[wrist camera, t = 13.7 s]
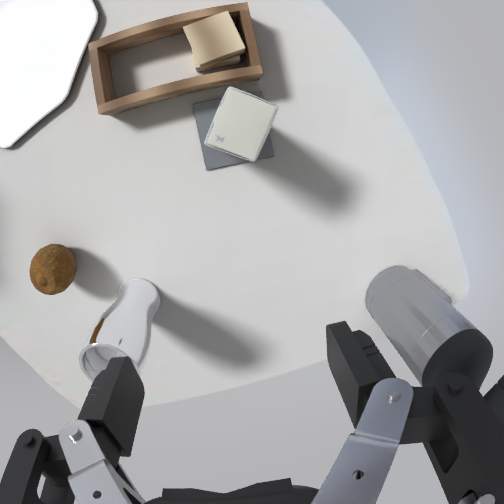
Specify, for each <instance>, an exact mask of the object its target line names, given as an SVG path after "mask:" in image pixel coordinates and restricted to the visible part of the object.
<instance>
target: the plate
mask: <svg viewBox="0 0 504 504" xmlns="http://www.w3.org/2000/svg"><path fill="white" fill-rule="evenodd" d="M98 14H99V13H98V11H97V9H96V7H95V4H94V2H93V0H0V147H1V148H7V147H11V146H12V145H13V144H15V143H16V142H17V141H18V140H19V139H20V138H21V137H22V136H23V135H24V134H26V133H27V132H28V131H29V130H30V129H31V128H32V127H34V126H35V125H36V124H37V123H38V122H39V121H41V120H42V119H43V118H44V117H46V116H47V115H48V114H49V113H50V112H52V111H53V110H54V109H56V108H57V107H58V106H59V105H61V104H62V103H63V102H64V101H65V99H66V98H67V96H68V95H69V93H70V90H71V87H72V84H73V81H74V79H75V76H76V73H77V70H78V68H79V65H80V62H81V60H82V57H83V55H84V52H85V50H86V47H87V45H88V43H89V40H90V38H91V36H92V33H93V31H94V29H95V27H96V25H97V23H98Z"/></svg>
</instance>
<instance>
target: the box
mask: <svg viewBox="0 0 504 504" xmlns="http://www.w3.org/2000/svg"><path fill="white" fill-rule="evenodd" d="M277 111H278V106H277V105H275V104H272V103H270V102H268V101H266V100H264V99H262V98H259V97H257V96H255V95H252V94H250V93H247V92H245V91H242V90H239V89H237V88H234V87H231V86H230V87H228V88H227V90H226V92H225V94H224V96H223V98H222V100H221V102H220V105H219V107H218V109H217V111H216V114H215V116H214V118H213V121H212V123H211V126H210V128H209V131H208V133H207V136H206V139H205V141H204V144H205V145H207V146H209V147H212V148H215V149H217V150H220V151H223V152H226V153H228V154H231V155H234V156H237V157H240V158H242V159H245V160H248V161H251V162H255V161H256V159H257V157H258V155H259V153H260V151H261V149H262V147H263V144H264V142H265V140H266V138H267V135H268V133H269V131H270V128H271V126H272V123H273V121H274V118H275V116H276V113H277Z"/></svg>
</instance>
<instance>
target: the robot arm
mask: <svg viewBox="0 0 504 504" xmlns="http://www.w3.org/2000/svg"><path fill="white" fill-rule="evenodd" d="M366 307H367V310H368V311H369V313H370V314H371V316H372V318H373V319H374V320H375V321H376V322H377V324H378V325H379V327H380V328H381V329H382V331H383V332H384V333H385V335H386V336H387V338H388V339H389V340H390V342H391V343H392V344H393V346H394V347H395V349H396V350H397V351H398V353H399V354H400V356H401V357H402V358H403V360H404V361H405V362H406V364H407V365H408V367H409V368H410V370H411V371H412V373H413V374H414V375H415V377H416V378H417V380H418V381H419V383H420V384H421V386H422V387H412V386H411V385H410V384H409V383H408V382H407V381H405V380H402V379H399V378H396V376H395V375H394V373H393V371H392V370H391V369H390V367H389V365H388V364H387V362H386V360H385V359H384V357H383V356H382V354H381V353H380V352H379V350H378V348H377V347H376V346H375V343H374V342H373V340H372V339H371V337H370V336H369V335H367V334H366V333H364V332H362V331H361V330H358V331H354V332H352V331H351V329H350V328H349V326H348V324H347V323H346V321H342V322H338V323H333V324H329V325H327V326H326V338H327V357H328V363H329V367H330V370H331V372H332V374H333V377H334V379H335V382H336V384H337V386H338V389H339V391H340V394H341V396H342V399H343V401H344V403H345V406H346V408H347V411H348V413H349V416H350V418H351V421H352V423H353V426H354V428H355V431H354V433H353V434H352V433H351V434H350V435H349V436H348V438H347V440H346V442H345V444H344V446H343V448H342V450H341V451H340V454H339V455H338V457H337V459H336V461H335V463H334V465H333V467H332V469H331V470H330V472H329V474H328V476H327V477H326V479H325V481H324V483H323V484H322V486H321V488H320V490H319V489H316V488H312V487H307V486H298V485H292V483H291V478H287V479H281V480H275V481H269V482H262V483H256V484H254V485H251V486H248V487H245V488H242V489H238V490H235V491H232V492H229V493H217V492H210V491H204V490H199V489H192V488H186V489H164V488H163V493H162V497H158V498H155V499H152V500H150V501H148V502H146V501H145V500H144V499H143V498H142V497H141V495H140V494H139V492H138V491H137V489H136V488H135V487H134V485H133V483H132V482H131V480H130V479H129V477H128V476H127V474H126V472H125V471H124V469H123V468H122V466H121V465H120V463H119V457H120V456H125V457H130V456H131V451H132V446H133V441H134V437H135V433H136V429H137V424H138V420H139V416H140V412H141V408H142V404H143V400H144V394H145V392H144V386H143V383H142V381H141V379H140V377H139V375H138V373H137V371H136V369H135V366H134V364H133V362H132V360H131V359H130V357H128V356H125V357H113V358H111V359H110V360H109V363H108V365H107V367H106V370H102V371H101V372H100V373H99V374H98V375H97V376H96V377H95V379H94V381H93V383H92V386H91V389H90V390H89V393H88V396H87V397H86V400H85V402H84V404H83V407H82V409H81V412H80V414H79V416H78V419H77V420H74V421H71V422H69V423H67V424H66V425H64V427H63V428H62V429H61V431H60V433H59V435H55V436H49V437H44V436H43V435H42V433H41V432H40V431H38V430H36V429H29V430H26V431H25V432H23V433H22V434H21V435H20V436H19V438H18V439H17V442H16V444H15V446H14V449H13V451H12V454H11V456H10V459H9V461H8V464H7V466H6V469H5V472H4V474H3V477H2V480H1V483H0V504H74V500H75V498H76V500H77V502H78V504H375V503H376V501H377V499H378V496H379V494H380V492H381V490H382V487H383V485H384V482H385V480H386V477H387V475H388V472H389V470H390V466H391V465H392V462H393V459H394V456H395V453H396V451H397V448H398V445H399V444H411V443H421V442H423V444H424V446H425V449H426V451H427V453H428V456H429V458H430V460H431V462H432V464H433V467H434V469H435V471H436V474H437V476H438V478H439V480H440V483H441V486H442V488H443V490H444V493H445V495H446V497H447V500H448V502H449V504H504V375H503V377H502V378H500V380H499V381H498V384H497V383H496V384H495V385H494V386H493V387H492V388H491V389H490V390H489V391H488V392H487V394H486V395H485V396H484V397H483V396H482V395H481V393H480V392H479V389H480V387H481V385H482V383H483V381H484V378H485V377H486V375H487V373H488V370H489V368H490V365H491V362H492V358H493V348H492V345H491V343H490V341H489V340H488V339H487V338H486V337H485V336H484V335H483V334H482V333H481V332H480V331H479V330H478V329H477V328H476V327H475V326H474V325H473V324H472V323H470V322H469V321H468V320H467V319H466V318H465V317H464V316H463V315H461V313H459V312H458V311H457V310H456V309H455V308H454V307H453V306H452V305H451V297H450V296H448V295H447V294H446V293H445V292H444V291H443V290H441V289H440V288H439V287H438V286H437V285H435V284H434V283H433V282H432V281H431V280H429V279H428V278H427V277H426V276H424V275H423V274H422V273H421V272H420V271H418V270H417V269H415V270H410V269H408V268H407V267H404V266H394V267H390V268H388V269H386V270H384V271H383V272H381V273H380V274H379V275H378V276H377V277H376V278H375V279H374V280H373V281H372V283H371V284H370V286H369V288H368V291H367V294H366ZM41 474H42V475H43V476H44V477H45V478H46V479H45V483H44V486H43V490H42V494H41V497H40V499H39V497H38V494H37V487H38V484H39V480H40V477H41Z"/></svg>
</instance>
